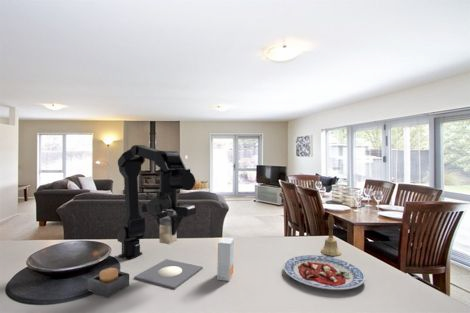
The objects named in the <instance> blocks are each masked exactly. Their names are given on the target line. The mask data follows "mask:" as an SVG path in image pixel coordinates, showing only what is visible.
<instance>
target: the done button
mask: <svg viewBox="0 0 470 313" xmlns="http://www.w3.org/2000/svg"><path fill="white" fill-rule="evenodd" d="M118 271H119V269H118V268H115V267H109V268H105V269H102V270H101V271H99V274H100V281H102V282H106V283H109V282H111V281H113V280H115V279H117V278H118Z"/></svg>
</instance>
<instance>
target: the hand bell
mask: <svg viewBox="0 0 470 313" xmlns="http://www.w3.org/2000/svg"><path fill="white" fill-rule="evenodd" d="M327 226H328V237H327V238H325V239H324V245H323V247H322V248H321V249H320V253H321V252H322V254H323V255H325V254H326V256H329V257H331V256H332V257H337V256H338V255H339V256H341V255H342V254H341V253H342V251H341V250H340V249H339V247H338V242H337V239H336V238H334V226H335V218H334V216H333V213H329V215H328V218H327ZM340 254H341V255H340Z"/></svg>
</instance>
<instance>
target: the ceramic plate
mask: <svg viewBox="0 0 470 313" xmlns="http://www.w3.org/2000/svg"><path fill="white" fill-rule="evenodd" d="M283 263H284V264H283V270H284V272H285V273H286V274H287V276H289V277H290V278H292V279H293V280H295V281H297V282H299V283H300V284H304V285H306V286H310V287H313V288H318V289H324V290H333V291H344V290H351V289H355V288H357V287H360V286H362V285H363V284H364V282H365V278H366V277H365V274H364V272H363V271H362V270H361V269H360V268H358V267H356V266H355V265H354V264H352V263H349V262H347V261H345V260H342V259H338V258H334V257H331V256H327V255H326V256H324V255H317V254H316V255H315V254H313V255H312V254H311V255H310V254H308V255H307V254H306V255H297V256H293V257H291V258H288V259H287V260H286V261H285V262H283Z"/></svg>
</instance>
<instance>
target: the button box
mask: <svg viewBox="0 0 470 313" xmlns="http://www.w3.org/2000/svg"><path fill="white" fill-rule="evenodd" d="M86 285H87V289H89V290H91V291H92V293H91V294H94V295H97V296H100V297H103V298H106V299H108V298H110V297H111V296H113V295H115V294H116V293H118V292H120V291H121V290H124V289H126V288H127V287H129V286H130V273H128V272H125V271H124V272H123V271H120V270H118V278H117V279H115V280H113V281H111V282H109V283H106V282H102V281H100V273H99V274H96V275H94V276H92V277H91V278H90V277H89V278H88V279H87V284H86ZM87 289H86V290H87Z"/></svg>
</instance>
